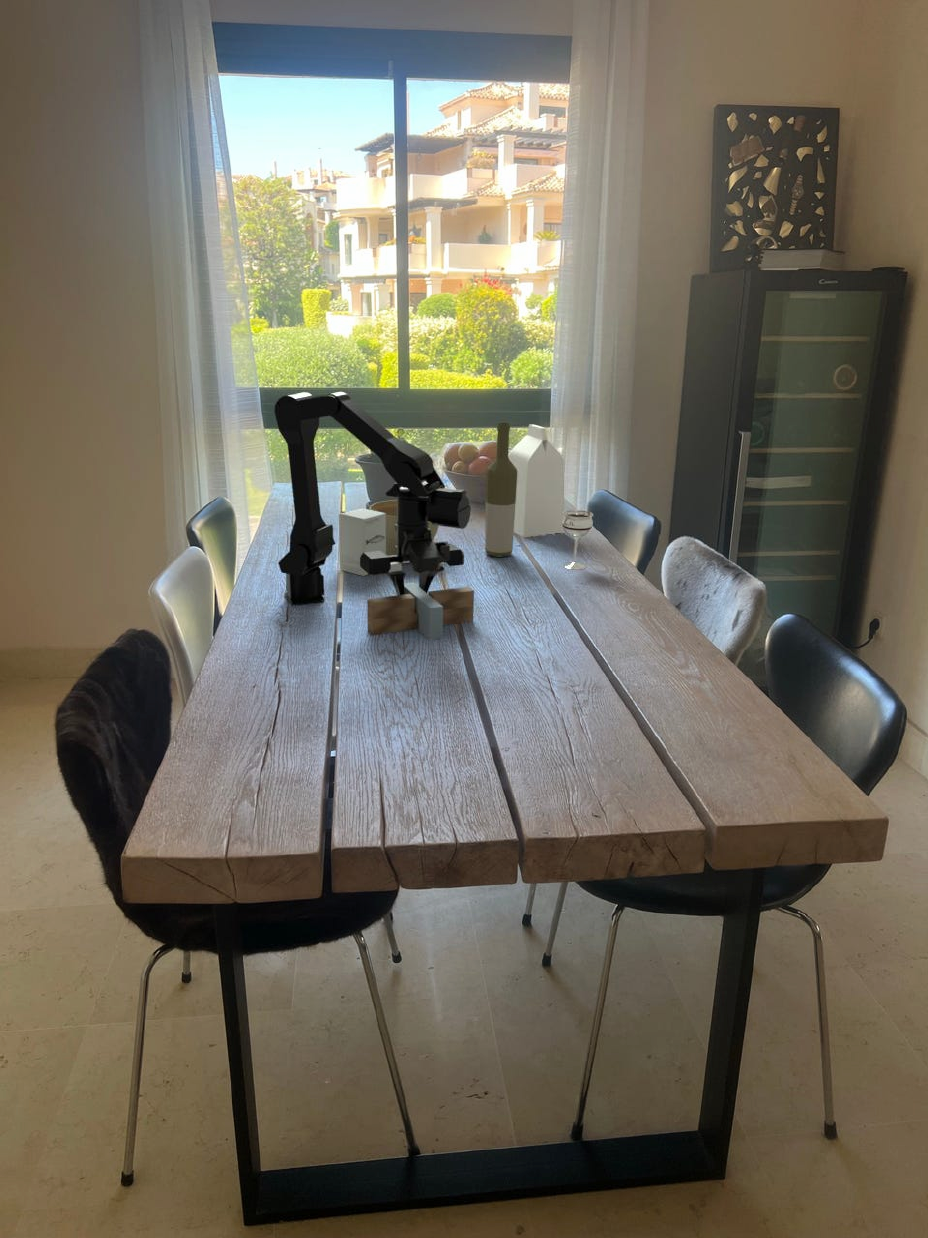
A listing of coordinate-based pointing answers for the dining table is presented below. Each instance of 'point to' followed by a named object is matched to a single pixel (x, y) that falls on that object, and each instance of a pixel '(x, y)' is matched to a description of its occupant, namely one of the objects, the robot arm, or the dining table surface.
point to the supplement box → (360, 537)
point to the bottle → (500, 498)
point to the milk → (538, 485)
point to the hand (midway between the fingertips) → (412, 602)
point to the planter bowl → (391, 520)
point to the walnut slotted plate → (402, 615)
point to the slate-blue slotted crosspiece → (426, 612)
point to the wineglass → (577, 530)
